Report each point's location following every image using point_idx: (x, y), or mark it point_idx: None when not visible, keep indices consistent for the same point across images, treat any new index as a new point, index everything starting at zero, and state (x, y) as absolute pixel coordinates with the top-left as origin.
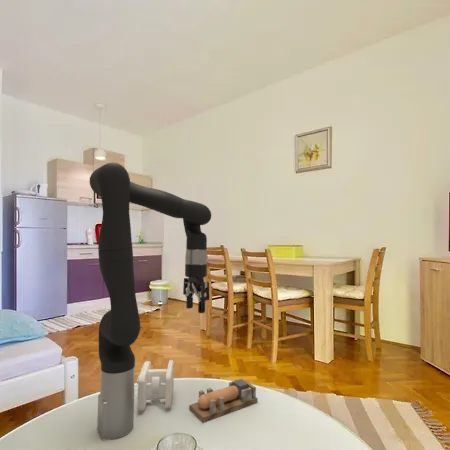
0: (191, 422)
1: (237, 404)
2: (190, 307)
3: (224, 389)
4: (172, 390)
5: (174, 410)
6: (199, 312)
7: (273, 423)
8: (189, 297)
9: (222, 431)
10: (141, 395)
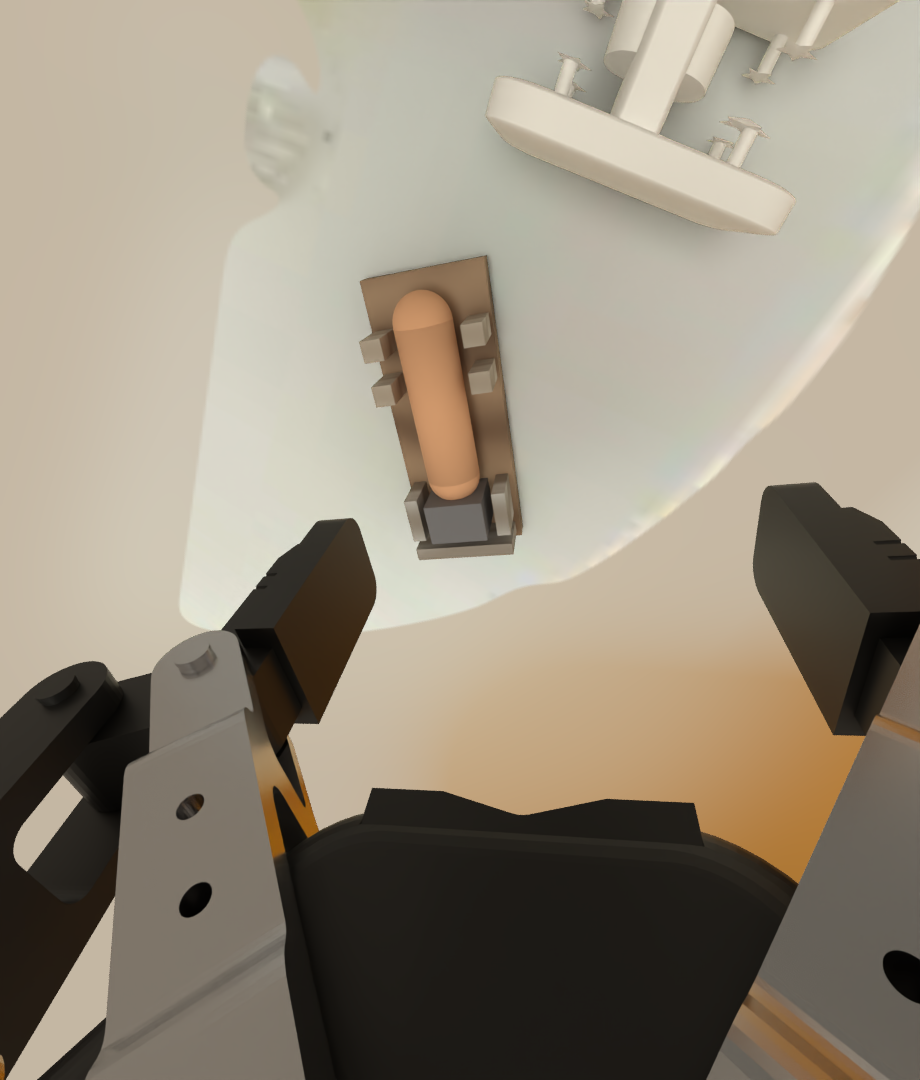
0: (385, 230)
1: (408, 458)
2: (759, 545)
3: (435, 440)
4: (617, 189)
5: (513, 175)
6: (319, 524)
7: (299, 507)
8: (874, 672)
9: (295, 332)
10: None
